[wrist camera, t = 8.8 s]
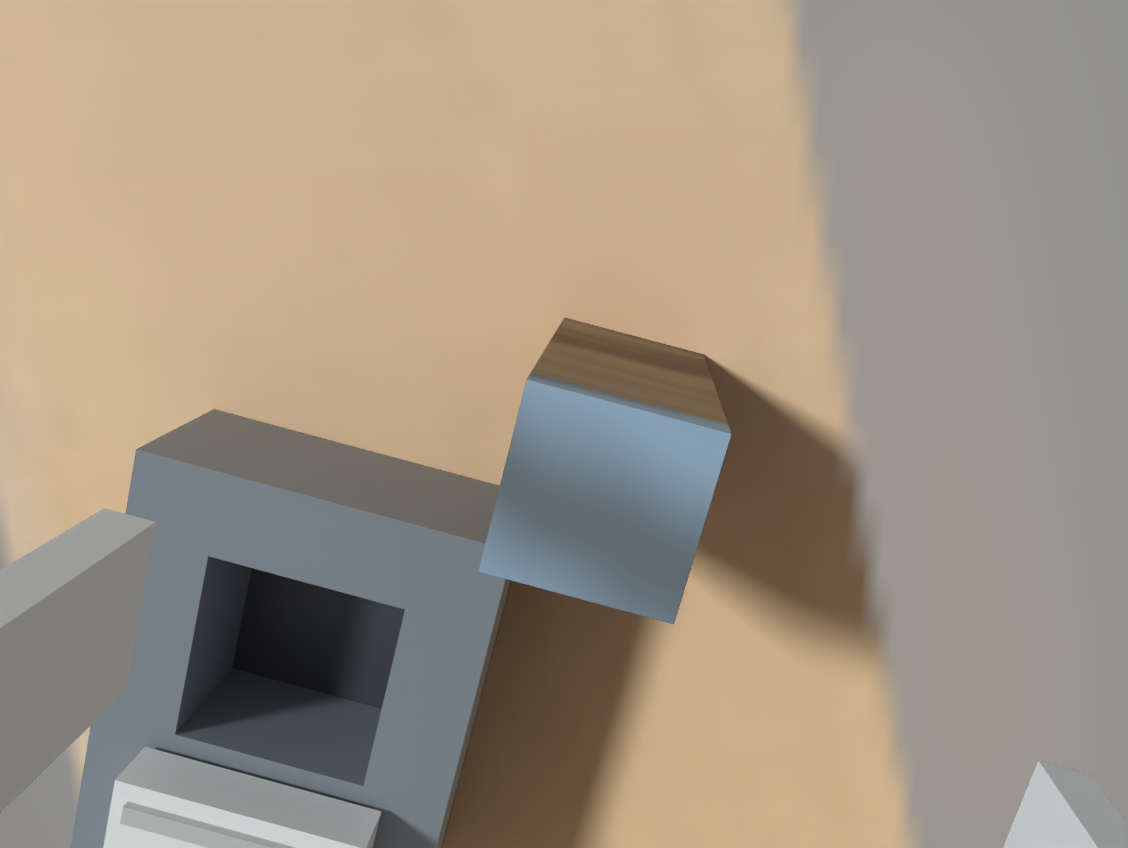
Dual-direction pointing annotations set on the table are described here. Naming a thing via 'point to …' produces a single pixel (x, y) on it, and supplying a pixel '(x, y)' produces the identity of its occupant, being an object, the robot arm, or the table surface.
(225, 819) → the lid
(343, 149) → the table surface
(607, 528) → the plug
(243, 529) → the socket block
